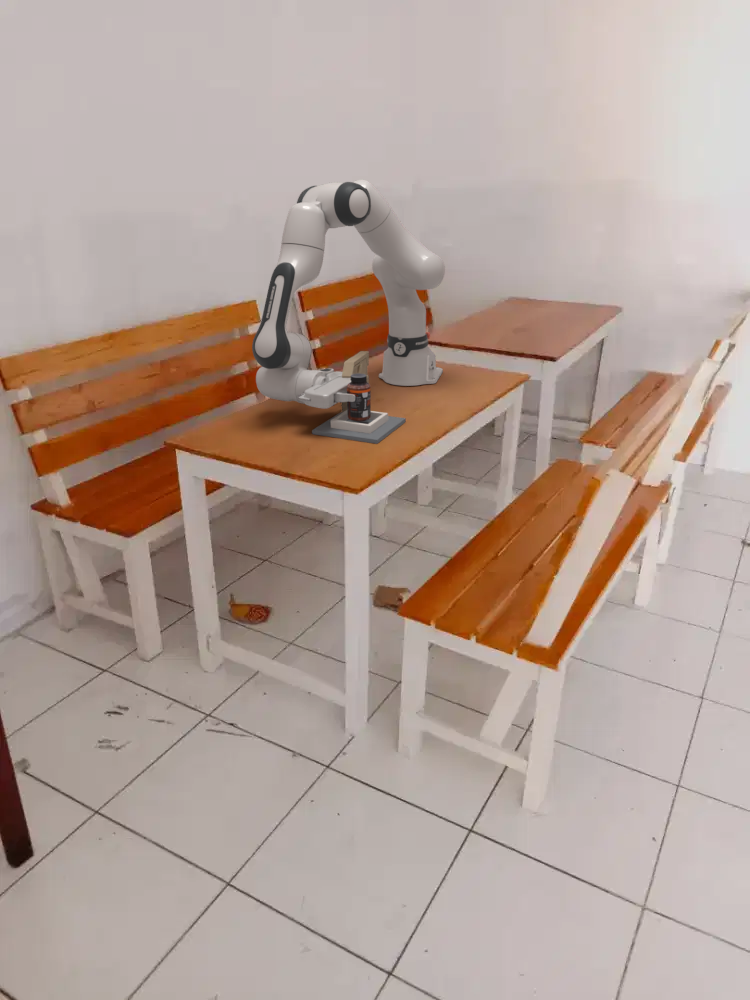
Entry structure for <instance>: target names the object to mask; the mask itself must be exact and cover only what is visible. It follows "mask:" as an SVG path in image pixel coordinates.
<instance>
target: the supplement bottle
mask: <svg viewBox="0 0 750 1000" xmlns="http://www.w3.org/2000/svg"><path fill="white" fill-rule="evenodd" d="M350 380H351V382H350V383H349V384H348V385H347V394H349V393H353V394H354V393H355V394H357V400H356V401H354V402H349V401H348V402H347V413H348V418H349V419H350V420H352V421H365V420H368V419H369V418H370V417H371V411H372V410H371V409H372V408H371V401H372V400H371V393H372V392H371V384H370V382H369V383H367V381H366V380H367V376H366V375H365V374H361V373H357V374H352V375H351V379H350Z"/></svg>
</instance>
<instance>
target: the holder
mask: <svg viewBox="0 0 750 1000" xmlns="http://www.w3.org/2000/svg"><path fill="white" fill-rule="evenodd" d="M406 420H407V419H406V418H405V417H401V416H400V417H398V416H391V415H389V413H388V412H381V411H374V410H371V417H370V418H369V419H368V420H365V421H352V420H350V419H349V418H348V413H347V410H346V411H345V412H343V413H342V411H340V412H339V413H337V414H336V415H334V416H333V417H331V418H329V419H327V420H326V421H325V422H323V423H321V424H319V425H318V426H316V427H315V428H314V429H312V430H311V435H316V436H323V437H329V438H337V439H343V440H348V441H349V440H350V441H355V442H357V441H358V442H361V443H363V442H364V443H369V444H370V443H371V444H377V445H378V444H379V443H381V442H382V441H383V440H384V439H385V438H386V437H388V436H390V435H391V434H392V433H394V432H395V431H396V430H397V429H399V428H400V427H401V426H402V425H403V424H405V423H406Z"/></svg>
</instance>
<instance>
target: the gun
mask: <svg viewBox="0 0 750 1000" xmlns="http://www.w3.org/2000/svg"><path fill="white" fill-rule="evenodd" d="M369 353H370V352H369V351H368V350H366V351H365V350H360V351H358V352H357V353H355V354H354V355H353V356H350V358H348V359H347V360H345V361H344V363H343V368H342V372H343V373H342V378H351V375H352V374H357V373H361V374H365V375H366V376H367V380H366V381H367V383H369V384H370V376H369V374H368V367H369V364H370V363H369V362H370V361H369V360H370V354H369ZM340 407H341V412H342V413H343V412H345V411H346V410H347V402H341V406H340Z"/></svg>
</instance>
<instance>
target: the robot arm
mask: <svg viewBox="0 0 750 1000" xmlns="http://www.w3.org/2000/svg"><path fill="white" fill-rule="evenodd" d="M342 227H343V228H345V227H354V228H355V229H356V231H357V232H358V234H359V235H360V236H361V237H362V239H363V241H364V242H365V244H366V245H367V247H368V248H369V249H370V250H371V252H373V253H374V254H375V255H374V256H373V258H372V264H371V266H372V267H371V268H372V272H373V275H374V276H375V277H376V279H377V280H378V282H379V283H380V285H381V287H382V289H383V292H384V296H385V299H386V304H387V309H388V334H387V339H386V341H387V342H386V343H387V349H386V350H384V351H383V361H382V372H381V373H378V378H379V379H382V380H383V381H384V382H385V383H387V384H390V385H394V386H405V387H407V386H408V387H409V386H411V387H412V386H413V387H414V386H420V385H421V386H422V385H430V384H431V385H432V384H436V383H437V382H438V380H439V379H440V377H441V375H442V374H443V372H444V371H443V368H441V367H439V366H437V365H436V362H437V361H436V360H437V358H436V356H437V355H436V354H435V352H434V351H433V350H432V349H431V348H430V346H429V339H430V338H431V333H430V331H429V332H428V331H427V310H426V309H427V308H426V306H425V304H424V303H423V302H422V300H421V299H420V297H419V295H418V293H417V291H427V290H433V289H435V288H437V287H438V286H440V284H441V283H442V282H443V280H444V278H445V274H446V266H445V262H444V260H443V259H442V257H441V256H440V255H438V254H436V253H434V252H433V251H432V250H431V249H429V248H427V247H426V246H425V245H424V244H423V243H422V242H421V241H420V240H419V239H417V237H415V235H413V234H412V233H411V232H410V231H409V230H408V229H407V228H406V227H405V226H404V224H403V223H402V222H401V220H400V218H399V217H398V216H397V214H396V213H395V212H394V210H393V208H392V207H391V206H390V204H389V202H388V200H386V198H385V197H384V196H383V194H382V193H381V192H380V190H378V188H376V187H375V186H374V184H372V183H371V182H370V181H369V180H366V179H357V180H353V181H345V182H340V181H339V182H338V181H337V182H335V181H334V182H328V183H325V184H320V185H311V186H309V187H307V188H305V189H304V190H302V192H301V193H300V194H299V196H298V198H297V201H296V203H295V204H293V205H292V206H291V207H290V208H289V211H288V214H287V216H286V219H285V223H284V228H283V233H282V236H281V242H280V243H281V246H280V251H279V255H278V256H279V257H278V260H277V264H276V265H275V268H274V269H273V271H272V274H271V278H270V281H269V283H268V284H269V285H268V289H267V294H266V298H265V303H264V306H263V313H262V316H261V317H262V318H261V320H260V324H259V326H258V329H257V331H256V333H255V335H254V337H253V339H252V345H251V349H252V350H251V351H252V354H253V357H254V359H255V361H256V362H257V364H258V365H259V366H260V367H259V369H258V370H257V371H256V375H255V383H256V387H257V389H258V391H259V392H260V394H261V395H263V396H265V397H266V398H268V399H273V400H277V401H283V402H297V403H299V404H303V405H304V404H305V406H308V407H312V408H317V409H325V410H326V409H329V408H331V407H333V406H334V405H336V404H338V403H342V402H348V401H349V402H354V401H356V400H357V394H355V393H354V394H353V393H349V394H347V385H348V384H349V383H350V382H351V380H350V379H351V378H342V373H343V371H337V370H336V371H335V369H334V368H330V367H329V368H324V369H318V370H317V369H309V367H310V363H311V358H312V351H313V350H312V344H311V342H310V340H309V339H308V338H307V336H305V335H304V334H303V333H300V332H295V331H289V330H287V324H288V319H289V313H290V310H291V307H292V302H293V301H292V300H293V297H294V295H295V293H296V292H297V291H298V290H299V289H300V288H301V287H303V286H306V285H309V284H311V283H312V282H314V281H315V280H316V279H317V278H318V277H319V275H320V273H321V270H322V267H323V262H324V257H325V256H324V254H325V246H326V234H327V232H328V230H329V229H337V228H342Z"/></svg>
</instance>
